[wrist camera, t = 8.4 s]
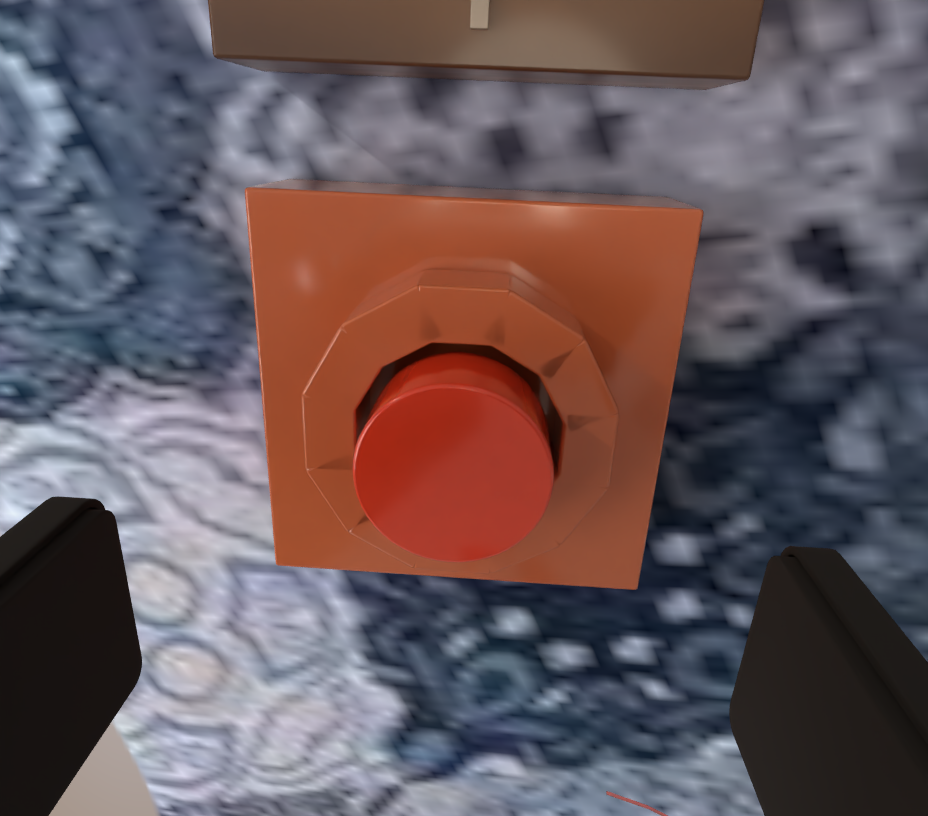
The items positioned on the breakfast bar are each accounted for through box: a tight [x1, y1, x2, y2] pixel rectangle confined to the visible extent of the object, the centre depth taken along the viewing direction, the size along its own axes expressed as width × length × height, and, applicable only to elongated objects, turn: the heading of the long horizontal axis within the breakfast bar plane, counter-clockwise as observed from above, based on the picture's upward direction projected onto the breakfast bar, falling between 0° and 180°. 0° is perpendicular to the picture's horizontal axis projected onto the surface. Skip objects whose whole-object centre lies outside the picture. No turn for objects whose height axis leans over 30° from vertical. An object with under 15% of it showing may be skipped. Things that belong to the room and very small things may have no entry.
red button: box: [352, 352, 554, 562], centre depth 14 cm, size 4×4×2 cm
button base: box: [245, 179, 704, 590], centre depth 17 cm, size 10×10×5 cm
